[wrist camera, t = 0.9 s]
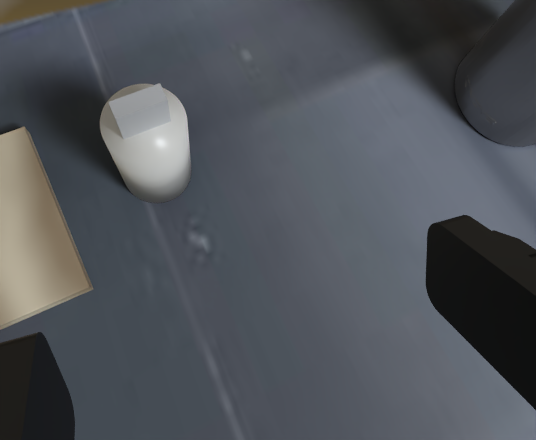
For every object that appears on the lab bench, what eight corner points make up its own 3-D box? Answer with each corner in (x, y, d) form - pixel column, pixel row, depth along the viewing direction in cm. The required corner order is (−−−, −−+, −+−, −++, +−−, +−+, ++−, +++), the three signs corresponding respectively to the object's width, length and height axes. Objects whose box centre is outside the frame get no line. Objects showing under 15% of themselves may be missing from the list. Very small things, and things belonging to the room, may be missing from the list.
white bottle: (175, 129, 37) (163, 46, 27) (202, 187, 36) (200, 124, 26) (112, 154, 36) (75, 77, 26) (138, 213, 35) (110, 158, 25)
